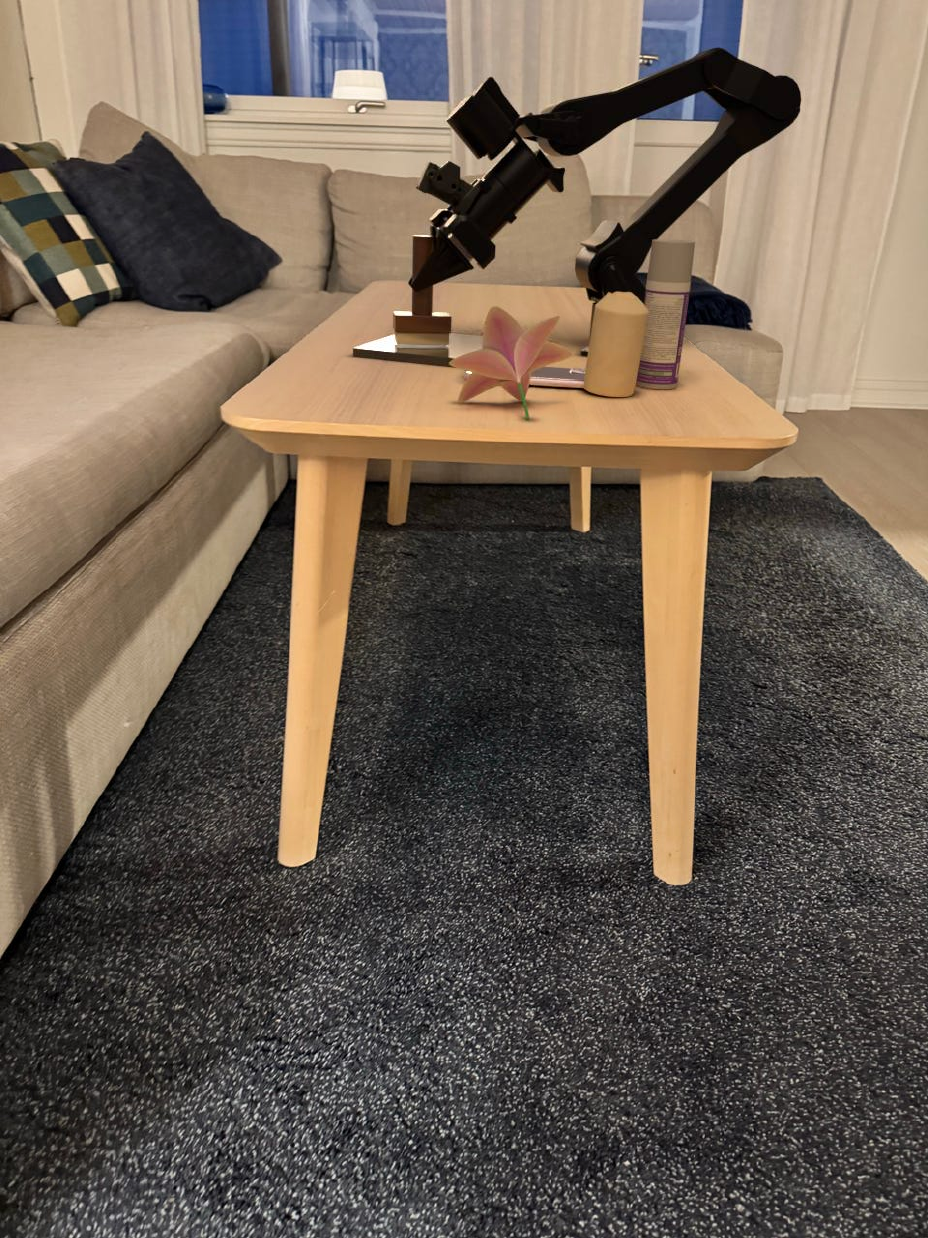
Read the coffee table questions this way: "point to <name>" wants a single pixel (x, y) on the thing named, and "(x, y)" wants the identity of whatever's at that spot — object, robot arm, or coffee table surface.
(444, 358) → the panel
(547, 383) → the mobile phone
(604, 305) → the candle
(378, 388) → the coffee table surface
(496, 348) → the lily
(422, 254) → the brush
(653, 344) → the container
